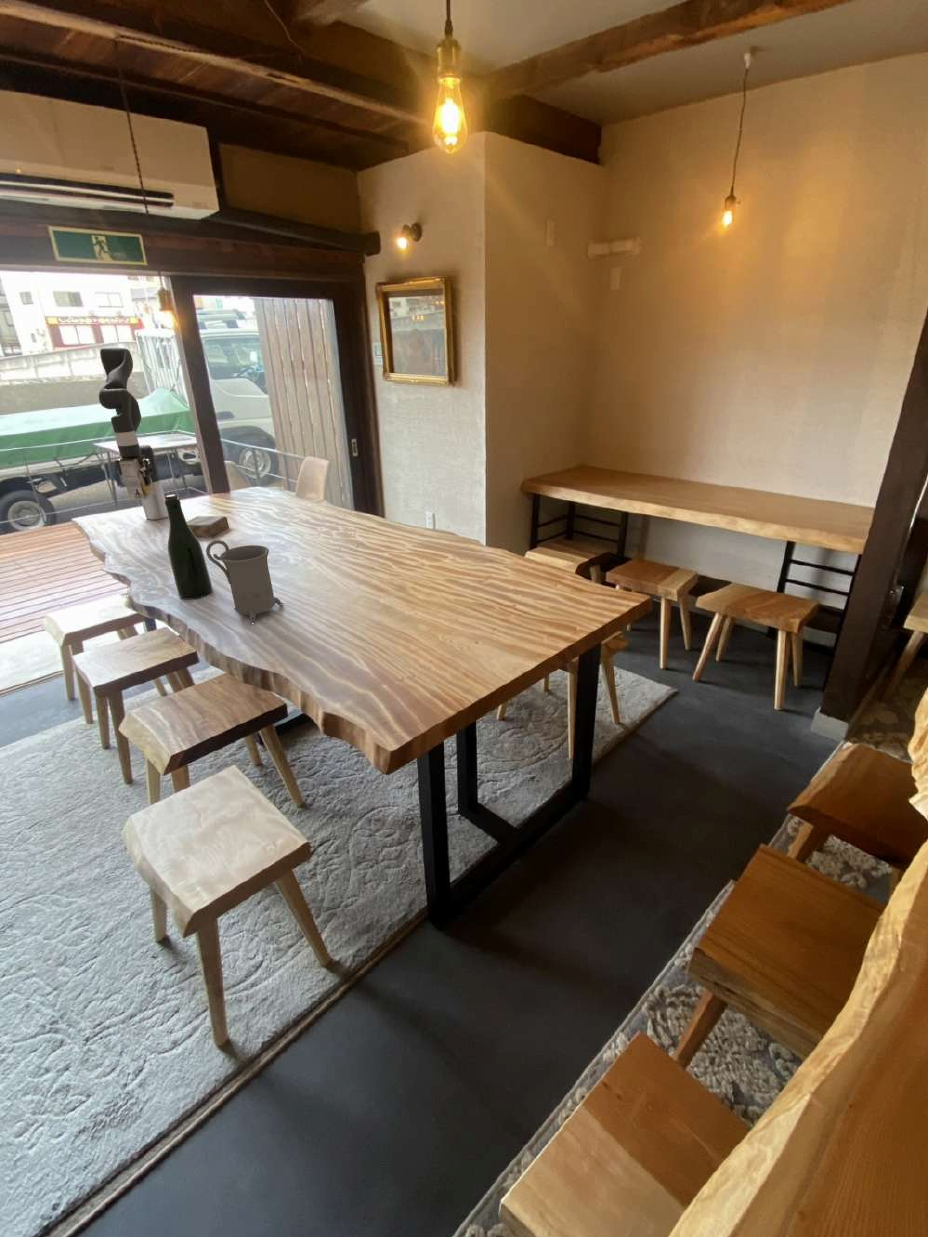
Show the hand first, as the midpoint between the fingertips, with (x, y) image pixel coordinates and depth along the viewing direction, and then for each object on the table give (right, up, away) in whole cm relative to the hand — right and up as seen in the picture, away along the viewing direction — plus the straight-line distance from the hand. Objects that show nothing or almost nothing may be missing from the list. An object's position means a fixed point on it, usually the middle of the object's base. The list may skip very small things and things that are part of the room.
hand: (139, 485), depth 239 cm
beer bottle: (+43, -46, -43) cm, 76 cm away
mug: (+67, -53, -59) cm, 104 cm away
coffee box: (0, -4, +2) cm, 5 cm away
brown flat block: (+19, -17, +18) cm, 31 cm away
